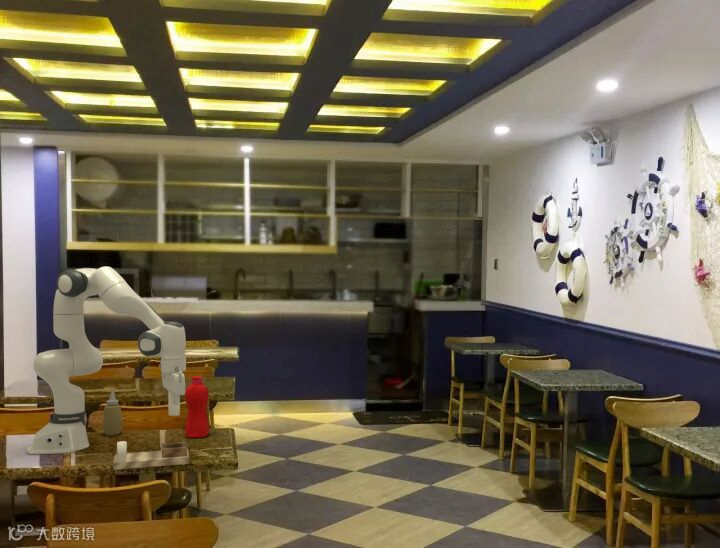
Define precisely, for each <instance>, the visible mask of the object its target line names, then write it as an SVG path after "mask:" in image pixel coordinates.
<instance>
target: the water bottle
mask: <svg viewBox="0 0 720 548" xmlns="http://www.w3.org/2000/svg"><path fill="white" fill-rule="evenodd" d="M190 380H191V381H190V382H191V383H190V385H188V386H187V387H186V388H185V394H184V400H185V403H186V408H187V415H186V418H185V419H186V421H185V426H184V434H185V437H186V438H189V439H192V438H193V439H202V438H205V437H207V436H208V435H209V434H210V421H209V419H208V413H207V407H208V408H210V409H211V408H212V406H213V405H211V406H209V405H208V402H209V395H210V399H211V400H210V401H213V399H212V394H211V392H210V390H209V388H208V387H207V385H205V384H204V381H203V377H202V376H199V375H195V376H191V378H190Z"/></svg>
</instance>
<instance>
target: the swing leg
mask: <svg viewBox="0 0 720 548" xmlns="http://www.w3.org/2000/svg"><path fill="white" fill-rule="evenodd" d="M116 443H117V444H116V454H117V461H119V462H122V461H126V460H127V453H128V452H127V449H128V445H127V444H128V443H127V440H126V441H125V440H122V441H121V440H120V441H117V442H116Z"/></svg>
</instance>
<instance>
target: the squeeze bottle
mask: <svg viewBox="0 0 720 548" xmlns="http://www.w3.org/2000/svg"><path fill="white" fill-rule="evenodd" d="M123 426H124V423H123V415H122V407H121V405H120V404H119V400H118V399H116V395H115V392H114V391H111V392H110V394H109V399H107V400H106V405H105V406H104V410H103V418H102V429H103V432H104V434H105V435H106V436H111V437H112V436H116V435H117V436H118V435H120V434H121V431H122V429H123Z"/></svg>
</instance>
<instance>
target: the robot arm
mask: <svg viewBox="0 0 720 548" xmlns="http://www.w3.org/2000/svg"><path fill="white" fill-rule="evenodd" d="M56 287H57V289H56V291H55V296H54V299H53V300H54V301H53V318H52V319H53V333H54V335H55V336H56V337H57V338H58V339H61V340H62V341H63V340H64V341H65V342H68V346H69V347H68V348H61V349H50V350H45V351H43V352H39V353H38V354H37V355H36V356H35V358H34V361H33V371H34V372H35V374H36V375H37V376H38V377H39V378H40V379H42V380H44V381H45V382H46V384H48V385H49V387H50V389H51V391H52V394H53V395H52V397H53V403H54V404H53V405H54V407H53V408H54V411H51V412H49V414H48V423H47V424H45V426H43V427H42V428H41V429H39V431H38V430H37V432H36V433H35V435H34V436H33V442H32V443H33V444H30V445H29V446H28V447H27V448H26V454H28V455H48V454H49V455H52V454H53V455H54V454H56V455H57V454H71V453H73V452H77V451H80V450H81V451H82V450H84V449H87V448H88V447H90V442H89V438H88V434H87V427H86V425H87V413H86V412H87V410H86V409H85V408H86V405H85V402H86V401H85V391H84V390H83V389H82V388H81V386H78V385H75V384H73V383H70V377H78V376H88V375H90V374H94V373H97V372H99V371H100V370H101V368H102V366H103V363H104V359H103V358H104V357H103V354H102V352H101V351H100V350H99V349H98V348H97V347H94V346H93V344H92V343H91V342H90V341H89V339H88V337H87V334H86V332H85V319H84V317H85V314H84V312H85V310H84V309H85V308H84V302H85V300H86V299H87V298H88V297H89V298H92V299H93V298H95V297H99V298H100V300H101V301H102V302H103V303H104V305H105V306H106V307H107V308H108V309H109V310H110V311H111V312H113V313H116V314H118V315H123V316H124V315H125V316H129V317H133V318H136V319H138V320H140V321H141V322H142V323H144V325H146V327H147V328H148V329H149V330H146V331H144V332H142V333H141V334H140V335H139V337H138V339H137V347H138V351H140V353H141V354H142V355H143V356H145V357H156V356H160V363H159V369H160V370H161V383H162V387H163V388H164V389H166V390H167V391H168V390H169V391H170V392H171V393H173V405H178V404H179V397H181V396H185V391H186V377H185V374H184V373H183V372H185V371H187V356H186V353H185V351H186V346H187V345H186V344H187V342H186V339H187V338H186V330H185V327H184V325H183V323H180V322H177V321H171V320H170V321H166V320H164V318H163V317H162V316H161V314H159V313H158V312H157V311H156V310H155V309H154V308H153V307H152V306H151V305H150V303H148V302H147V301H146V300H145V299H143V298H142V297H141V296H140V295H139V294H137V292H135V291H134V290H133V289H132V288H131V286H130V285H129V284H128V283H127V282H126V280H125V279H124V277H123V276H121V275H120V274H119V273H118V272H117V271H116V269H114V268H112V267H111V266H101V267H99V268H92V267H91V268H89V267H83V268H78V269H77V268H76V269H67V270H65V271H64V270H63V272H61V273H60V274H59V275H58V277H57V280H56Z"/></svg>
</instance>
